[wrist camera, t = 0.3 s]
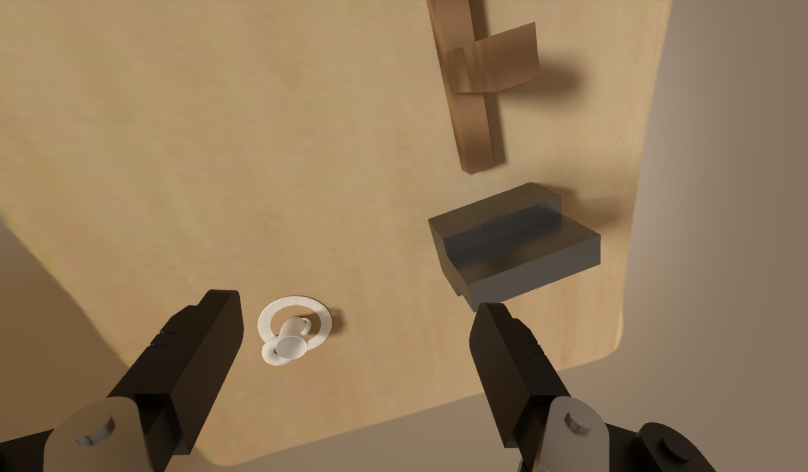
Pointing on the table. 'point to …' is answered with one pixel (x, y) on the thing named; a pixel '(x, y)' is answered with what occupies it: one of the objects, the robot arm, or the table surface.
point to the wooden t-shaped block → (477, 74)
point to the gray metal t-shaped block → (511, 245)
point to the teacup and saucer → (291, 331)
